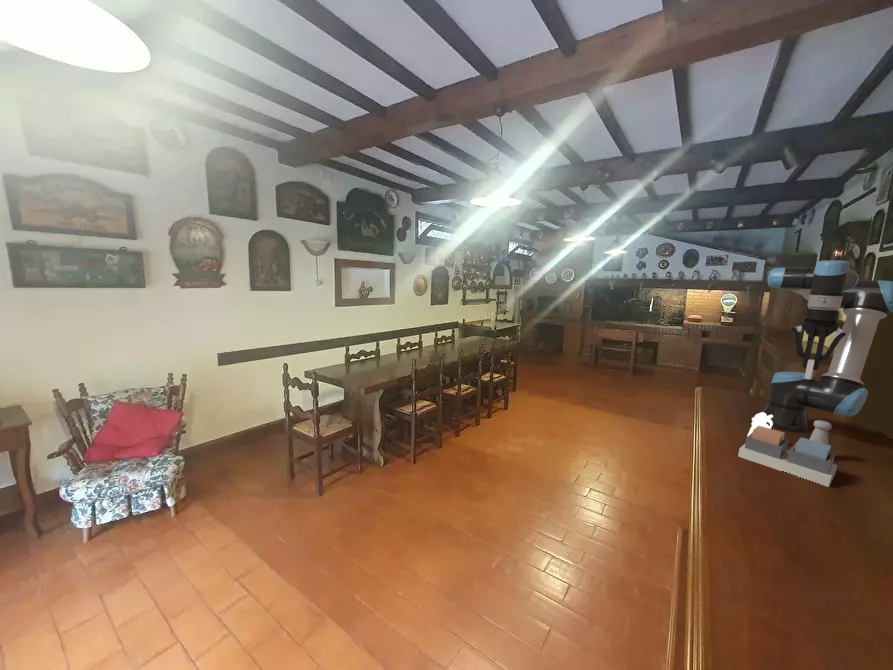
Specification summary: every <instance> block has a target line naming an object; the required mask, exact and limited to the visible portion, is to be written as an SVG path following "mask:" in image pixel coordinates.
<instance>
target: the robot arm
mask: <svg viewBox="0 0 893 670" xmlns="http://www.w3.org/2000/svg"><path fill="white" fill-rule="evenodd" d="M767 285H768V287H769V288H770V289H771V288H773V289H778V290H779V289H786V290H788V291H790V292H791V291H792V292H794V293H796V294H798V295H801V296H802V297H803V298H804V299H805V300H807V307H808V308H807V309H806V310H805V311H806V312H805V314H804V320H803V322H802V323H801V324H800V325H797V326H795V327H794V326H793V327H792V328H791V331H792V333H793V334H794V340H795V348H796V355H797V356H798V357H801V358H803V361H802V368H803V369H805V372H800V371H799V372H798V371H778V372H775V373H774V374H773V377H772V380H771V385H770V390H769V395H768V400H767V401H768V402H767V404H766V406H765V407H764V409H762V411H761V413H762V412H764V413H766V415H767V416H768V415H773V417H772V418H771V420H772V422H773V425H772V426H773V427H772V428H775V427H777V428H776V429H778V428H780V429H779V430H782V429H783V431H787V430H788V432H795V433H804V432H807V431H808V421H807V417H806V412H805V411H806V408H807V407H808V408H811V409H815V410H819V411H824V412H827V413H831V414H834V415H839V416H845V417H853V416H855V415H857V414H858V413H859V412H861V409H862V408H863V406H864V404H865V403H866V400H867V397H868V395H869V390H868V389H866V388H865V387H864V386H865V383H864V382H863V381H862V380H861V376H862V373H863V371H864V367H865V364H866V361H867V357H868V355H869V351H870V348H871V346H872V343H873V339H874V336H875V335H876V332H877V328H878V325H879V322H880V320H883V319H884V318H886V317H888V314H889V313H893V281H892V280H881V279H878V280H877V279H876V280H875V279H860V277H859V274H858V273H857V272H856V271H855V270H853V269H852V268H850V261H848V260H836V259H835V260H834V259H833V260H819V261H817V263H816V264H815V267H786V266H785V267H774V268H772V269H771V270H770V272H769V274H768V276H767ZM840 309H842V313H843V315H845V316H846V317H845V320H844V324H843V326H842V330H841V329H839V325H838V321H839V320H838V319H839V315H840V311H839V310H840ZM802 331H804V332H805V334H806V335H808V337H807V341H806V346H805V351H804V348H803V341H802V339H803V338H802ZM833 333H834V336H835V337H834V339H833V340H832V342H831V343H830V345H829V346H828V348H827V351H826V352H825V354H824V355H823V351H824V347H825V343H826V339H827V337H829V336H830V335H832V334H833ZM816 337H817V338H818V343H817V347H816V352H815V356H814V359H812V358H811V357H812V356H811V355H812V352H813V346H814V342H815V339H816ZM832 354H833V356H832ZM831 356H832V359H831V361H830V365H829V368H828V371H827V372H826V373H823V374H821V375H820V378H819V379H816V378H813V375H814V371H818V370H819V369H820V364H821V361H827V360H829V359H830V358H831ZM766 424H768V425H770V423H769V422H766Z"/></svg>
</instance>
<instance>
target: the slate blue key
mask: <svg viewBox="0 0 893 670" xmlns="http://www.w3.org/2000/svg"><path fill="white" fill-rule="evenodd" d="M809 439H810V438H809ZM809 439H808V438H805V437H802V436H801V437H800V438H798V441H796V442H795V443H796V447H795V451H797V452H800V453H803V454H807V455H810V456H813V457H817V458H820V459H823V460H827V461H828V458H829V454H830V453H831V450H832V449H831V448H832V445H831V444H829V445H827V444H823V443H820V442H816V441H813V440H809Z"/></svg>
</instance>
